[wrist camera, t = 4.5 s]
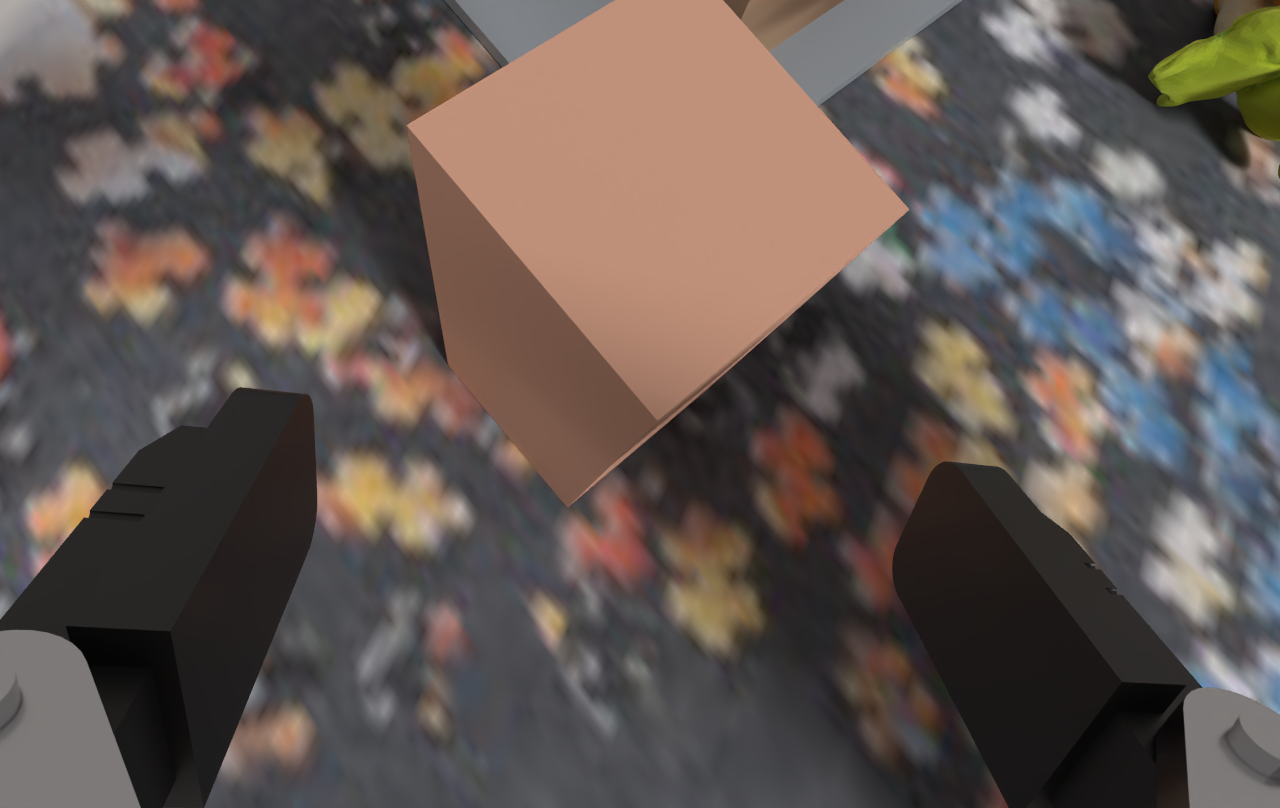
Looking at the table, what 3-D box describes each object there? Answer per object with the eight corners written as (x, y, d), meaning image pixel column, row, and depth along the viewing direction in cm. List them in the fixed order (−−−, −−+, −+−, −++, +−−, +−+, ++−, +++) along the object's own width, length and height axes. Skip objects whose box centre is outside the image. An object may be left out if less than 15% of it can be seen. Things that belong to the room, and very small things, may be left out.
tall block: (588, 262, 20) (685, -42, 10) (701, 394, 19) (909, 209, 10) (448, 365, 18) (406, 124, 9) (567, 507, 18) (657, 420, 9)
